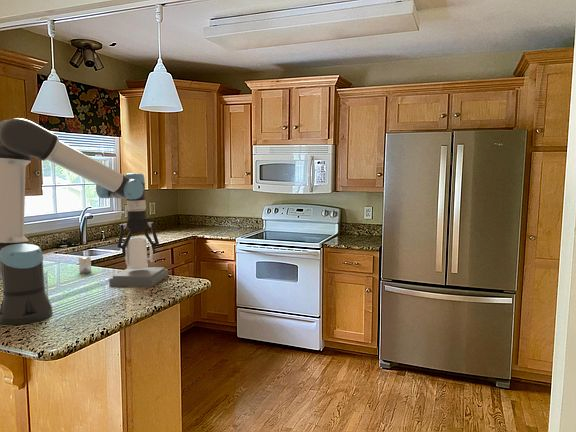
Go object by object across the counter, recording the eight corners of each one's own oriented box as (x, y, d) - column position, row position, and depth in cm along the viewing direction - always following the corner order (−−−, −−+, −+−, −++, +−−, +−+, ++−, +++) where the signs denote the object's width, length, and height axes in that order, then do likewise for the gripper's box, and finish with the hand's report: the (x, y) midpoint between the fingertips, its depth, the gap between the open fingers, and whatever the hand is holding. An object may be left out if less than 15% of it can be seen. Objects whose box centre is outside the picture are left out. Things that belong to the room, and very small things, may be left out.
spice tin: (87, 273, 204) (86, 258, 203) (77, 273, 204) (76, 258, 204) (93, 271, 209) (92, 256, 208) (83, 271, 209) (82, 256, 208)
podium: (152, 286, 181) (151, 277, 180) (109, 286, 183) (109, 276, 182) (168, 275, 199) (167, 266, 198) (129, 275, 200) (128, 266, 200)
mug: (158, 265, 192) (157, 238, 191) (145, 270, 184) (144, 241, 183) (136, 264, 196) (134, 237, 195) (122, 268, 188) (121, 240, 187)
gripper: (109, 212, 179) (112, 267, 182) (164, 209, 188) (167, 261, 191) (108, 210, 186) (111, 263, 189) (162, 208, 195) (164, 258, 198)
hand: (139, 262), depth 190 cm, fingers closed on mug, 9 cm apart
